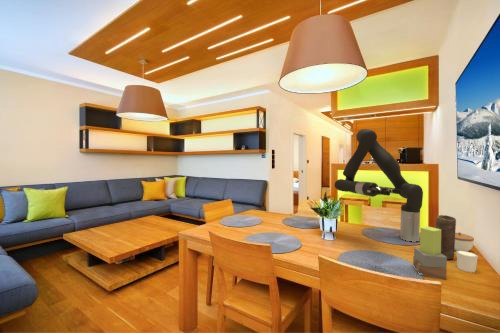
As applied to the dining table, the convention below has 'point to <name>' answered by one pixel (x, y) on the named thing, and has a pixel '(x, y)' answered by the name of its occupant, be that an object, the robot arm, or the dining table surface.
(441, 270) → the walnut base block
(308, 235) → the dining table surface
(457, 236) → the lidded jar
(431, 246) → the lime pillar
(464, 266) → the white short cylinder
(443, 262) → the charcoal top block
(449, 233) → the candle
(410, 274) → the dining table surface
